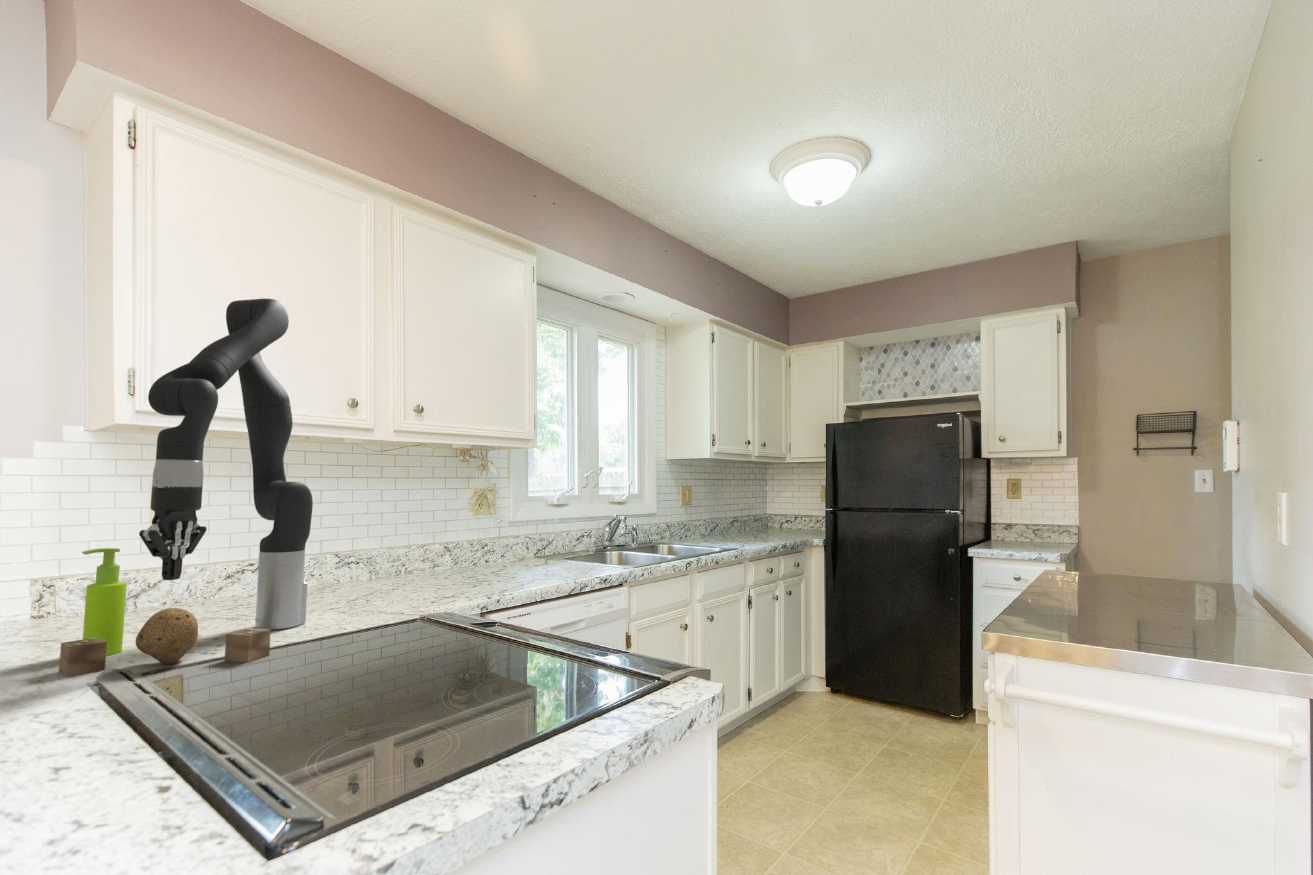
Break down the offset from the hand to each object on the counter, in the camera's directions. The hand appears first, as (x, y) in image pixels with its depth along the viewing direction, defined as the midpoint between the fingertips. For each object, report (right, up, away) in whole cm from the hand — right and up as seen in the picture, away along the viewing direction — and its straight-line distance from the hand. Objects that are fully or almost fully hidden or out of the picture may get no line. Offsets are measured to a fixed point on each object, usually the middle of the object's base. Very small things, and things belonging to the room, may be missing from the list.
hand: (171, 579), depth 116 cm
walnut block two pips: (+12, -16, +3) cm, 20 cm away
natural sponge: (0, -15, -1) cm, 15 cm away
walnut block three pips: (-11, -15, -6) cm, 19 cm away
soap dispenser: (-18, -16, +5) cm, 24 cm away
